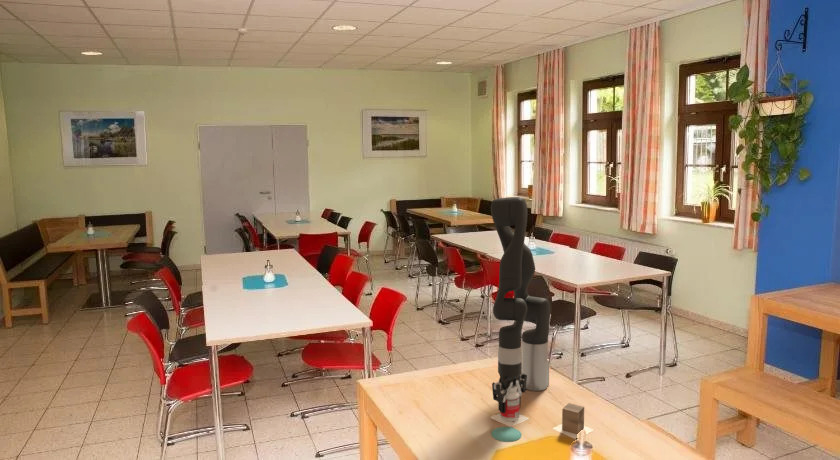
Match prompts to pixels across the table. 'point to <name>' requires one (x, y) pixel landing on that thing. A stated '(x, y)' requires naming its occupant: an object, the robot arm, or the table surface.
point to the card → (559, 429)
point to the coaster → (506, 434)
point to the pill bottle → (511, 405)
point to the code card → (508, 423)
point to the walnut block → (573, 418)
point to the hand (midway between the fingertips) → (509, 409)
